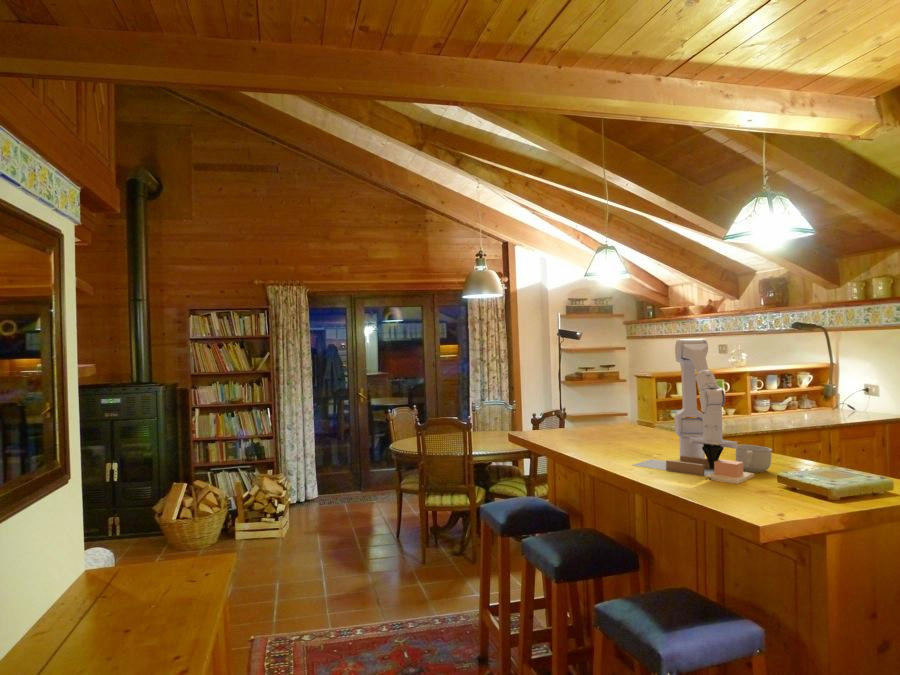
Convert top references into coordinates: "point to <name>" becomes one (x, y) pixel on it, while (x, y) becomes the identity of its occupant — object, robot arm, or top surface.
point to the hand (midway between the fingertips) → (713, 468)
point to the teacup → (754, 457)
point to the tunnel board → (693, 468)
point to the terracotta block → (728, 468)
